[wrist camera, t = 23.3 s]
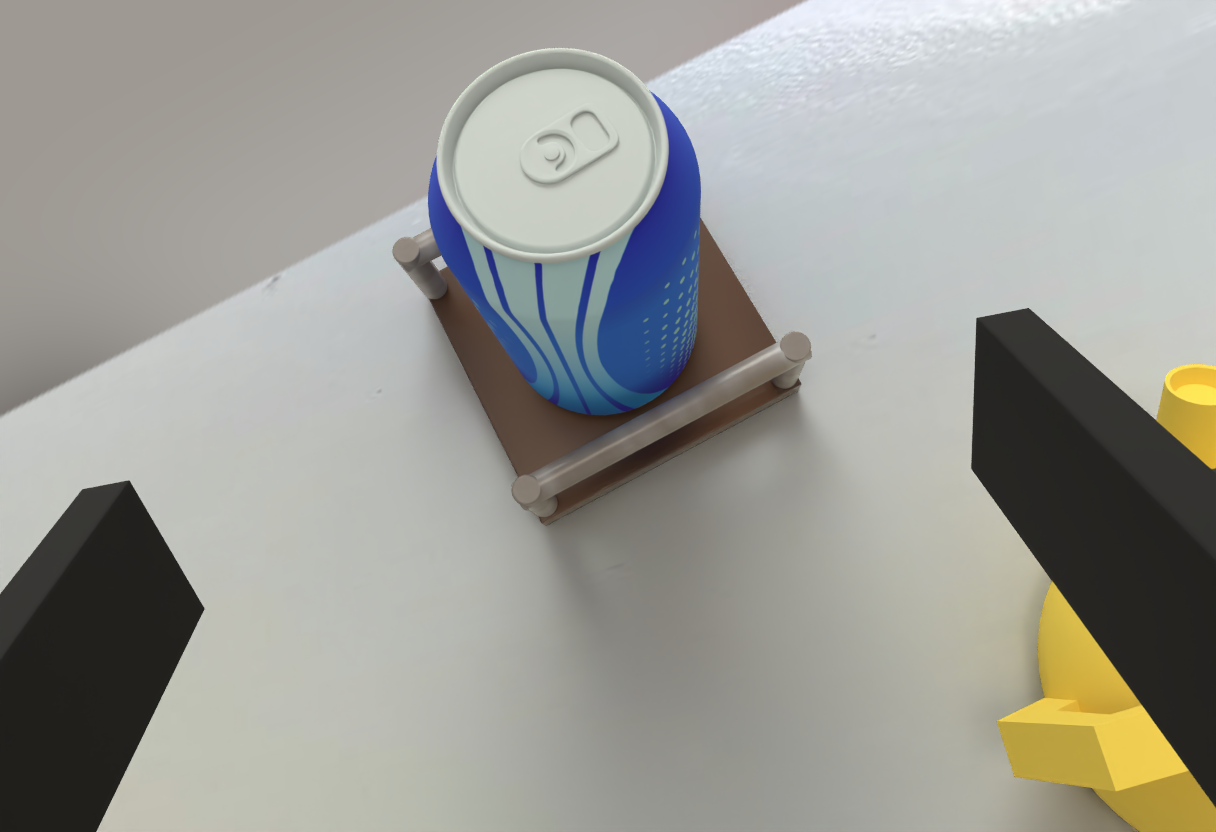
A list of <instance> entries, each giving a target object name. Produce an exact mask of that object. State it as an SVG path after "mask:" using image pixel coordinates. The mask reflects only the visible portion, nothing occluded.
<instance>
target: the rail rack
mask: <svg viewBox="0 0 1216 832" xmlns="http://www.w3.org/2000/svg"><path fill="white" fill-rule="evenodd" d="M393 256H394V258H395V259H396V261H397V262H398V263H399V264H400V265H401V267H402V268H403V269H404V270H405V272H406V273H407V274H408V275H409V276H410V278H411V279H412V280H413V281H414V283H415V284H416V285H417V286H418V287H419V289H420V290H421V291H422V292H423V293H424V295H425V296H426V297H427V298H429V300H430V302H431V304H432V306H433V308H434V310H435V312H436V314H437V316H438V318H439V320H440V322H441V324H442V326H443V328H444V330H445V332H446V334H447V336H448V338H449V340H450V342H451V344H452V346H453V348H454V349H455V351H456V353H457V355H458V357H459V359H460V361H461V363H462V365H463V367H464V369H465V371H466V373H467V375H468V377H469V379H470V381H471V383H472V385H473V387H474V389H475V391H476V393H477V395H478V397H479V399H480V401H481V403H482V405H483V407H484V409H485V411H486V413H487V415H488V417H489V419H490V421H491V423H492V425H493V427H494V429H495V431H496V433H497V435H498V437H499V439H500V441H501V443H502V445H503V447H504V449H505V451H506V453H507V455H508V457H509V459H510V461H511V463H512V465H513V467H514V469H515V471H516V473H517V475H518V478H517V479H516V480H515V481H514V483H512V485H511V486H512V495H513V498H514V499H515V500H516V501H517V502H518V503H519V504H520V505H521V507H522V508H523V509H524V510H527V509H528V510H530V511H531V512H533V513H534V514H536V515H537V516H538V517H539V519H540V521H541V523H543V524H544V525H548V524H550V523H552V522H554V521H556V520H558V519H560V518H561V517H563V516H565V515H567V514H569V513H571V512H573V511H575V510H576V509H578V508H580V507H582V506H584V505H586V504H588V503H589V502H591V501H593V500H595V499H597V498H599V497H601V496H603V495H604V494H606V493H608V492H610V491H612V490H614V489H616V488H618V487H619V486H621V485H623V484H625V483H627V482H629V481H631V480H633V479H634V478H636V477H638V476H640V475H642V474H644V473H646V472H647V471H649V470H651V469H653V468H655V467H657V466H659V465H661V464H662V463H664V462H666V461H668V460H670V459H672V458H674V457H676V456H677V455H679V454H681V453H683V452H685V451H687V450H689V449H690V448H692V447H694V446H696V445H698V444H700V443H702V442H704V441H705V440H707V439H709V438H711V437H713V436H715V435H717V434H719V433H720V432H722V431H724V430H726V429H728V428H730V427H732V426H734V425H735V424H737V423H739V422H741V421H743V420H745V419H747V418H748V417H750V416H752V415H754V414H756V413H758V412H760V411H762V410H763V409H765V408H767V407H769V406H771V405H773V404H775V403H777V402H778V401H780V400H782V399H784V398H786V397H788V396H790V395H792V394H793V393H795V392H797V391H798V390H799V388H800V386H801V382H800V380H799V379H798V377H799V375H800V373H801V370H802V368H803V366H804V364H805V362H806V361H807V360H809V359H810V358H811V357H812V352H811V344H810V341H809V339H808V337H807V336H805V335H804V334H802V333H800V332H791V333H788V334H786V335H785V336H784V337H783V338H782V340H781V341H779V342H777V343H776V341H775V339H774V338H773V336H772V335H771V333H770V331H769V330H768V328H767V326H766V325H765V323H764V321H763V320H762V318H761V316H760V315H759V313H758V312H757V310H756V308H755V307H754V305H753V303H752V302H751V300H750V298H749V297H748V295H747V293H746V292H745V290H744V289H743V287H742V285H741V284H740V282H739V280H738V279H737V277H736V275H735V274H734V272H733V270H732V269H731V267H730V266H729V264H728V262H727V261H726V259H725V257H724V256H723V254H722V252H721V251H720V249H719V248H718V246H717V244H716V243H715V241H714V239H713V238H712V236H711V234H710V233H709V231H708V229H707V228H706V226H705V225H704V223H703V221H702V220H701V218H700V238H699V274H698V311H697V332H696V338H695V343H694V346H693V350H692V352H691V355H690V357H689V359H688V361H687V363H686V365H685V367H684V369H683V370H682V372H681V373H680V375H679V376H678V377H677V378H676V380H675V381H674V382H673V383H672V384H671V385H670V386H669V387H668V388H667V389H666V390H665V391H664V392H663V393H661V394H660V395H659V396H657V397H656V398H654V399H653V400H651V401H650V402H648V403H646V404H644V405H642V406H640V407H638V408H635V409H632V410H629V411H626V412H622V413H617V414H610V415H589V414H582V413H577V412H574V411H570V410H567V409H565V408H562V407H560V406H558V405H556V404H554V403H552V402H550V401H549V400H547V399H545V398H544V397H543V396H541V395H540V394H539V393H538V392H537V391H535V390H534V389H533V388H532V387H531V386H530V384H529V383H528V382H527V381H526V380H525V378H524V377H523V375H522V374H521V373H520V371H519V370H518V368H517V367H516V365H515V364H514V362H513V361H512V359H511V358H510V356H509V355H508V354H507V352H506V351H505V349H504V348H503V346H502V345H501V343H500V342H499V340H498V339H497V337H496V336H495V335H494V333H493V332H492V330H491V329H490V327H489V326H488V324H487V323H486V321H485V320H484V318H483V317H482V316H481V314H480V313H479V311H478V310H477V308H476V307H475V305H474V304H473V302H472V301H471V299H470V298H469V296H468V295H467V294H466V292H465V291H464V289H463V288H462V286H461V285H460V283H459V282H458V280H457V279H456V277H455V276H454V275H453V273H452V272H451V270H450V269H449V267H446V268H444V269H442V270H440V271H439V270H438V269H437V268H436V266H435V265H434V264H433V262H432V261H431V260H433V259H435V258H437V257H439V256H441V253H440V251H439V249H438V246H437V244H436V241H435V239H434V235H433V232H432V228H430V229H428V230H426V231H425V232H423V233H421V234H419V235H417V236H415V237H413V238H411V237H404V238H401V239H399V240H398V241H397V242H396V243H395V244H394V246H393Z"/></svg>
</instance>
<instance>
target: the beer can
mask: <svg viewBox="0 0 1216 832" xmlns="http://www.w3.org/2000/svg"><path fill="white" fill-rule="evenodd" d="M700 202H701V184H700V174H699V167H698V162H697V159H696V155H695V151H694V148H693V146H692V143H691V141H690V139H689V137H688V135H687V133H686V131H685V129H684V127H683V126H682V124H681V123H680V121H679V120H678V118H677V117H676V116H675V115H674V113H673V112H672V111H671V110H670V109H669V107H668V106H667V105H666V104H665V103H664V102H663V101H662V100H661V99H660V98H658V97H657V96H656V95H655V94H653V93H652V92H651V91H650V90H648V88H647V87H646V86H645V85H644V84H643V82H641V81H640V80H639V79H638V78H637V77H636V76H635V75H634V74H633V73H632V72H630V71H629V70H628V69H626V68H625V67H623V66H622V65H620V64H619V63H617V62H615V61H613V60H611V59H609V58H607V57H604V56H602V55H599V54H596V53H592V52H589V51H584V50H579V49H570V48H550V49H542V50H535V51H531V52H527V53H523V54H520V55H517V56H514V57H512V58H509V59H507V60H505V61H503V62H501V63H499V64H497V65H495V66H493V67H492V68H490V69H489V70H487V71H486V72H484V73H483V74H482V75H481V76H479V77H478V78H477V79H476V80H475V81H474V82H472V83H471V84H470V85H469V86H468V87H467V88H466V90H465V91H464V92H463V93H462V94H461V95H460V97H459V98H458V99H457V101H456V102H455V103H454V105H453V107H452V109H451V110H450V112H449V114H448V116H447V118H446V120H445V122H444V125H443V128H442V130H441V134H440V138H439V142H438V149H437V155H436V158H435V161H434V164H433V168H432V172H431V178H430V184H429V192H428V208H429V218H430V224H431V228H432V232H433V235H434V239H435V241H436V244H437V246H438V249H439V251H440V253H441V255H442V257H443V259H444V261H445V263H446V264H447V266H448V267H449V269H450V270H451V272H452V273H453V275H454V276H455V277H456V279H457V280H458V282H459V283H460V285H461V286H462V288H463V289H464V291H465V292H466V294H467V295H468V296H469V298H470V299H471V301H472V302H473V304H474V305H475V307H476V308H477V310H478V311H479V313H480V314H481V316H482V317H483V318H484V320H485V321H486V323H487V324H488V326H489V327H490V329H491V330H492V332H493V333H494V335H495V336H496V337H497V339H498V340H499V342H500V343H501V345H502V346H503V348H504V349H505V351H506V352H507V354H508V355H509V356H510V358H511V359H512V361H513V362H514V364H515V365H516V367H517V368H518V370H519V371H520V373H521V374H522V375H523V377H524V378H525V380H526V381H527V382H528V383H529V384H530V386H531V387H532V388H533V389H534V390H535V391H537V392H538V393H539V394H540V395H541V396H543V397H544V398H545V399H547V400H549V401H550V402H552V403H554V404H556V405H558V406H560V407H562V408H565V409H567V410H570V411H574V412H577V413H582V414H589V415H610V414H617V413H622V412H626V411H629V410H632V409H635V408H638V407H640V406H642V405H644V404H646V403H648V402H650V401H651V400H653V399H654V398H656V397H657V396H659V395H660V394H661V393H663V392H664V391H665V390H666V389H667V388H668V387H669V386H670V385H671V384H672V383H673V382H674V381H675V380H676V378H677V377H678V376H679V375H680V373H681V372H682V370H683V369H684V367H685V365H686V363H687V361H688V359H689V357H690V355H691V352H692V350H693V346H694V343H695V338H696V332H697V311H698V274H699V238H700Z"/></svg>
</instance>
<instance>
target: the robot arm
mask: <svg viewBox="0 0 1216 832" xmlns="http://www.w3.org/2000/svg"><path fill="white" fill-rule="evenodd" d="M971 469H972V470H973V472H974V473H975V474H976V476H977V477H978V479H979V480H980V481H981V483H982V484H983V486H984V487H985V488H986V490H987V491H988V492H989V494H990V495H991V497H992V498H993V499H994V501H995V502H996V504H997V505H998V506H999V508H1000V509H1001V511H1002V512H1003V513H1004V515H1005V516H1006V517H1007V519H1008V520H1009V522H1010V523H1011V524H1012V526H1013V527H1014V529H1015V530H1016V531H1017V533H1018V534H1019V535H1020V537H1021V538H1022V540H1023V541H1024V542H1025V544H1026V545H1027V547H1028V548H1029V549H1030V551H1031V552H1032V554H1033V555H1034V556H1035V558H1036V559H1037V560H1038V562H1039V563H1040V565H1041V566H1042V567H1043V569H1044V570H1045V572H1046V573H1047V574H1048V576H1049V577H1050V579H1051V580H1052V581H1053V583H1054V584H1055V585H1056V587H1057V588H1058V590H1059V591H1060V592H1061V594H1062V595H1063V597H1064V598H1065V599H1066V601H1067V602H1068V604H1069V605H1070V606H1071V608H1072V609H1073V610H1074V612H1075V613H1076V615H1077V616H1078V617H1079V619H1080V620H1081V622H1082V623H1083V624H1084V626H1085V627H1086V628H1087V630H1088V631H1089V633H1090V634H1091V635H1092V637H1093V638H1094V640H1095V641H1096V642H1097V644H1098V645H1099V647H1100V648H1101V649H1102V651H1103V652H1104V653H1105V655H1106V656H1107V658H1108V659H1109V660H1110V662H1111V663H1112V665H1113V666H1114V667H1115V669H1116V670H1117V672H1118V673H1119V674H1120V676H1121V677H1122V678H1123V680H1124V681H1125V683H1126V684H1127V685H1128V687H1129V688H1130V690H1131V691H1132V692H1133V694H1134V695H1135V697H1136V698H1137V699H1138V701H1139V702H1140V703H1141V705H1142V706H1143V708H1144V709H1145V710H1146V712H1147V713H1148V715H1149V716H1150V717H1151V719H1152V720H1153V722H1154V723H1155V724H1156V726H1157V727H1158V728H1159V730H1160V731H1161V733H1162V734H1163V735H1164V737H1165V738H1166V740H1167V741H1168V742H1169V744H1170V745H1171V746H1172V748H1173V749H1174V751H1175V752H1176V753H1177V755H1178V756H1179V758H1180V759H1181V760H1182V762H1183V763H1184V765H1185V766H1186V767H1187V769H1188V770H1189V771H1190V773H1191V774H1192V776H1193V777H1194V778H1195V780H1196V781H1197V783H1198V784H1199V785H1200V787H1201V788H1202V790H1203V791H1204V792H1205V794H1206V795H1207V796H1208V798H1209V799H1210V801H1211V802H1212V803H1213V805H1214V806H1215V808H1216V468H1214V469H1211V468H1209V467H1208V466H1207V465H1206V464H1205V463H1204V462H1203V461H1201V460H1200V459H1199V458H1198V457H1197V456H1196V455H1195V454H1194V453H1192V452H1191V451H1190V450H1189V449H1188V448H1187V447H1186V446H1184V445H1183V444H1182V443H1181V442H1180V441H1179V440H1178V439H1177V438H1175V437H1174V436H1173V435H1172V434H1171V433H1170V432H1169V431H1167V430H1166V429H1165V428H1164V427H1163V426H1162V425H1161V424H1160V423H1158V422H1157V421H1156V420H1155V419H1154V418H1153V417H1152V416H1150V415H1149V414H1148V413H1147V412H1146V411H1145V410H1144V409H1143V408H1141V407H1140V406H1139V405H1138V404H1137V403H1136V402H1135V401H1133V400H1132V399H1131V398H1130V397H1129V396H1128V395H1127V394H1126V393H1124V392H1123V391H1122V390H1121V389H1120V388H1119V387H1118V386H1116V385H1115V384H1114V383H1113V382H1112V381H1111V380H1110V379H1109V378H1107V377H1106V376H1105V375H1104V374H1103V373H1102V372H1101V371H1099V370H1098V369H1097V368H1096V367H1095V366H1094V365H1093V364H1092V363H1090V362H1089V361H1088V360H1087V359H1086V358H1085V357H1084V356H1082V355H1081V354H1080V353H1079V352H1078V351H1077V350H1076V349H1075V348H1073V347H1072V346H1071V345H1070V344H1069V343H1068V342H1067V341H1065V340H1064V339H1063V338H1062V337H1061V336H1060V335H1059V334H1058V333H1056V332H1055V331H1054V330H1053V329H1052V328H1051V327H1050V326H1048V325H1047V324H1046V323H1045V322H1044V321H1043V320H1042V319H1041V318H1039V317H1038V316H1037V315H1036V314H1035V313H1034V312H1033V311H1031V310H1030V309H1029V308H1027V309H1022V310H1016V311H1011V312H1006V313H1001V314H995V315H990V316H985V317H980V318H977V320H976V348H975V377H974V406H973V434H972V463H971ZM203 611H204V607H203V605H202V604H201V602H200V600H199V598H198V597H197V595H196V593H195V592H194V590H193V588H192V586H191V585H190V583H189V581H188V580H187V578H186V576H185V575H184V573H183V571H182V569H181V568H180V566H179V564H178V563H177V561H176V559H175V557H174V556H173V554H172V552H171V551H170V549H169V547H168V546H167V544H166V542H165V540H164V539H163V537H162V535H161V534H160V532H159V530H158V528H157V527H156V525H155V523H154V522H153V520H152V518H151V517H150V515H149V513H148V511H147V510H146V508H145V506H144V505H143V503H142V501H141V499H140V498H139V496H138V494H137V493H136V491H135V489H134V488H133V486H132V484H131V482H130V481H124V482H119V483H113V484H108V485H103V486H98V487H92V488H87V489H82V491H81V492H80V493H79V494H78V496H77V497H76V498H75V500H74V501H73V502H72V503H71V505H70V506H69V507H68V508H67V510H66V511H65V512H64V514H63V515H62V516H61V517H60V519H59V520H58V521H57V522H56V524H55V525H54V526H53V528H52V529H51V530H50V531H49V533H48V534H47V535H46V536H45V538H44V539H43V540H42V542H41V543H40V544H39V545H38V547H37V548H36V549H35V550H34V552H33V553H32V554H31V556H30V557H29V558H28V559H27V561H26V562H25V563H24V564H23V566H22V567H21V568H20V570H19V571H18V572H17V573H16V575H15V576H14V577H13V578H12V580H11V581H10V582H9V584H8V585H7V586H6V587H5V589H4V590H3V591H2V592H1V594H0V832H96V831H97V829H98V827H99V825H100V823H101V821H102V819H103V817H104V815H105V813H106V810H107V808H108V806H109V804H110V802H111V800H112V798H113V796H114V794H115V792H116V790H117V788H118V786H119V784H120V782H121V780H122V778H123V776H124V773H125V771H126V769H127V767H128V765H129V763H130V761H131V759H132V757H133V755H134V753H135V751H136V749H137V747H138V745H139V743H140V741H141V738H142V736H143V734H144V732H145V730H146V728H147V726H148V724H149V722H150V720H151V718H152V716H153V714H154V712H155V710H156V708H157V706H158V703H159V701H160V699H161V697H162V695H163V693H164V691H165V689H166V687H167V685H168V683H169V681H170V679H171V677H172V675H173V673H174V671H175V668H176V666H177V664H178V662H179V660H180V658H181V656H182V654H183V652H184V650H185V648H186V646H187V644H188V642H189V640H190V638H191V636H192V634H193V631H194V629H195V627H196V625H197V623H198V621H199V619H200V617H201V615H202V613H203Z"/></svg>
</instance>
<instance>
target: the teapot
mask: <svg viewBox="0 0 1216 832" xmlns="http://www.w3.org/2000/svg"><path fill="white" fill-rule="evenodd" d="M1156 421H1157V422H1158V423H1160V424H1161V425H1162V426H1163V427H1164V428H1165V429H1166V430H1167V431H1169V432H1170V433H1171V434H1172V435H1173V436H1174V437H1175V438H1177V439H1178V440H1179V441H1180V442H1181V443H1182V444H1183V445H1184V446H1186V447H1187V448H1188V449H1189V450H1190V451H1191V452H1192V453H1194V454H1195V455H1196V456H1197V457H1198V458H1199V459H1200V460H1201V461H1203V462H1204V463H1205V464H1206V465H1207V466H1208V467H1209V468H1211V469H1214V468H1216V367H1215V366H1211V365H1203V364H1191V365H1184V366H1180V367H1177V368H1175V369H1173V370H1171V371H1170V372H1169V373H1168V374H1167V376H1166V378H1165V382H1164V387H1163V391H1162V396H1161V401H1160V405H1159V410H1158V415H1157V419H1156ZM1038 662H1039V674H1040V679H1041V684H1042V689H1043V694H1044V698H1043V699H1041V700H1039V701H1037V702H1035V703H1033V704H1031V705H1029V706H1027V707H1025V708H1022V709H1020V710H1018V711H1016V712H1014V713H1012V714H1010V715H1008V716H1006V717H1004V718H1002V719H1000V720H998V721H997V723H998V727H999V730H1000V733H1001V736H1002V739H1003V742H1004V745H1005V748H1006V752H1007V755H1008V758H1009V761H1010V764H1011V767H1012V770H1013V774H1014V777H1018V778H1025V779H1033V780H1040V781H1047V782H1054V783H1061V784H1068V785H1075V786H1082V787H1089V788H1092V789H1093V790H1094V791H1095V792H1096V794H1097V795H1098V796H1099V797H1100V798H1101V799H1102V800H1103V801H1104V802H1105V803H1106V804H1107V805H1108V806H1109V807H1110V808H1111V809H1112V810H1113V811H1114V812H1115V813H1116V814H1117V815H1119V816H1120V817H1121V818H1123V819H1124V820H1125V821H1126V822H1128V823H1129V824H1130V825H1131V826H1133V827H1134V828H1135V829H1137V830H1138V831H1139V832H1216V808H1215V806H1214V805H1213V803H1212V802H1211V801H1210V799H1209V798H1208V796H1207V795H1206V794H1205V792H1204V791H1203V790H1202V788H1201V787H1200V785H1199V784H1198V783H1197V781H1196V780H1195V778H1194V777H1193V776H1192V774H1191V773H1190V771H1189V770H1188V769H1187V767H1186V766H1185V765H1184V763H1183V762H1182V760H1181V759H1180V758H1179V756H1178V755H1177V753H1176V752H1175V751H1174V749H1173V748H1172V746H1171V745H1170V744H1169V742H1168V741H1167V740H1166V738H1165V737H1164V735H1163V734H1162V733H1161V731H1160V730H1159V728H1158V727H1157V726H1156V724H1155V723H1154V722H1153V720H1152V719H1151V717H1150V716H1149V715H1148V713H1147V712H1146V710H1145V709H1144V708H1143V706H1142V705H1141V703H1140V702H1139V701H1138V699H1137V698H1136V697H1135V695H1134V694H1133V692H1132V691H1131V690H1130V688H1129V687H1128V685H1127V684H1126V683H1125V681H1124V680H1123V678H1122V677H1121V676H1120V674H1119V673H1118V672H1117V670H1116V669H1115V667H1114V666H1113V665H1112V663H1111V662H1110V660H1109V659H1108V658H1107V656H1106V655H1105V653H1104V652H1103V651H1102V649H1101V648H1100V647H1099V645H1098V644H1097V642H1096V641H1095V640H1094V638H1093V637H1092V635H1091V634H1090V633H1089V631H1088V630H1087V628H1086V627H1085V626H1084V624H1083V623H1082V622H1081V620H1080V619H1079V617H1078V616H1077V615H1076V613H1075V612H1074V610H1073V609H1072V608H1071V606H1070V605H1069V604H1068V602H1067V601H1066V599H1065V598H1064V597H1063V595H1062V594H1061V592H1060V591H1059V590H1058V588H1057V587H1056V585H1055V584H1054V583H1053V581H1051V584H1050V587H1049V590H1048V592H1047V595H1046V598H1045V601H1044V604H1043V609H1042V614H1041V619H1040V624H1039V635H1038Z"/></svg>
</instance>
